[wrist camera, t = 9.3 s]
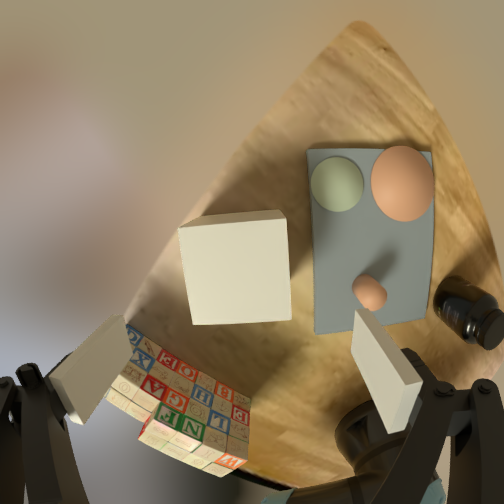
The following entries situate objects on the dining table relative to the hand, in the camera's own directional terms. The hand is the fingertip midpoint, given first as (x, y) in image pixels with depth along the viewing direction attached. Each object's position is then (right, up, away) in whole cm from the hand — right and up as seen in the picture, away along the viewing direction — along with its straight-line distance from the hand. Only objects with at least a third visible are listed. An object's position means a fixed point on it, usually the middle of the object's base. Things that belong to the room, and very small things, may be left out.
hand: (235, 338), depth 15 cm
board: (+16, +6, +17) cm, 24 cm away
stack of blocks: (-10, -14, +23) cm, 28 cm away
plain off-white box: (0, +5, +18) cm, 19 cm away
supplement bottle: (+30, -2, +18) cm, 35 cm away
